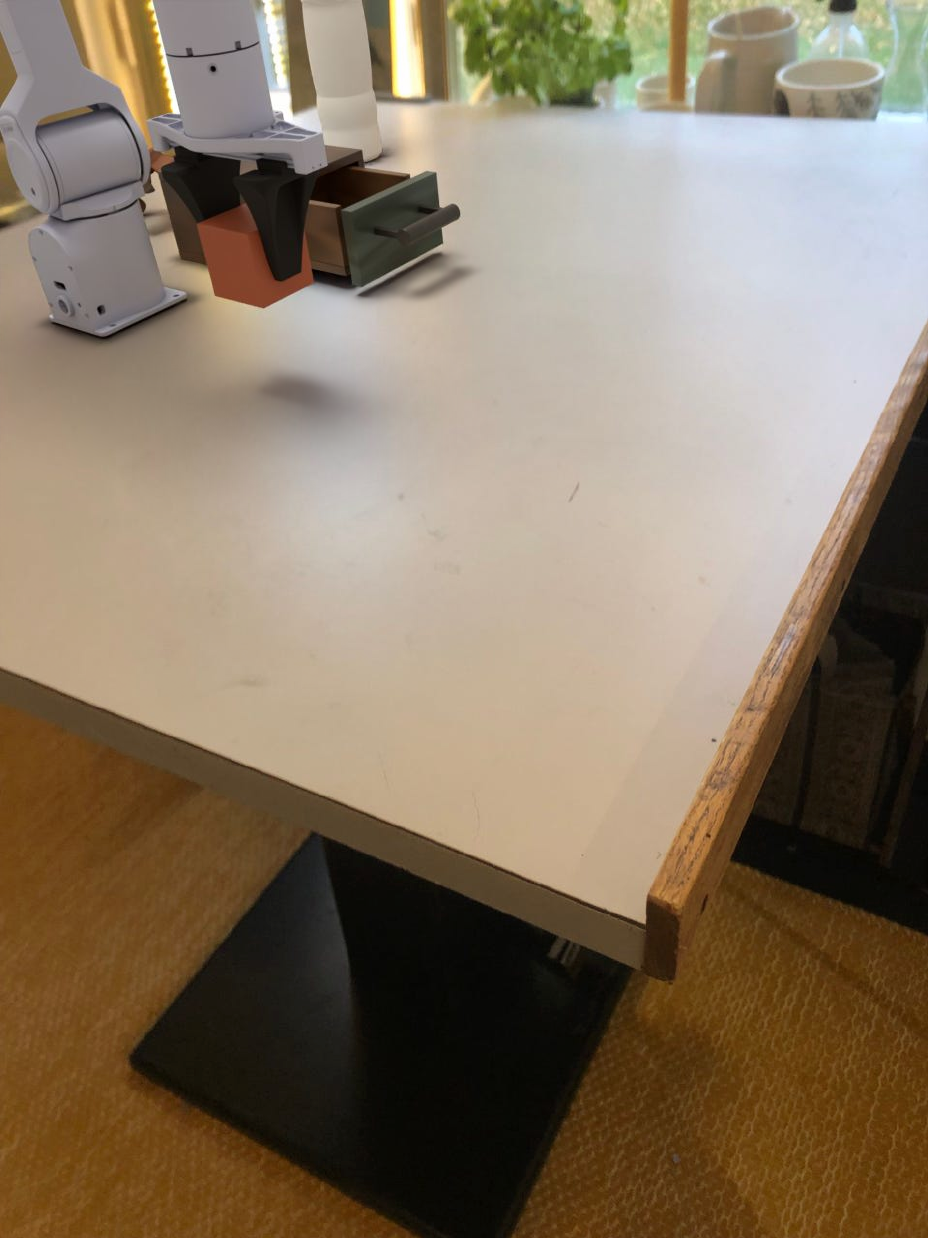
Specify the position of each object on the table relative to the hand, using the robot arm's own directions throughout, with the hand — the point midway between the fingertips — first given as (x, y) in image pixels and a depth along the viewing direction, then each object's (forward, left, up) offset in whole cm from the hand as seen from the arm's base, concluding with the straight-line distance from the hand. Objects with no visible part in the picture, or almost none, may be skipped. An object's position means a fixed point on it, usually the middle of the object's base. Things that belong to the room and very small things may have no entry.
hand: (260, 269), depth 68 cm
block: (0, 0, -1) cm, 1 cm away
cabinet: (+21, +22, -9) cm, 31 cm away
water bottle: (+48, +36, -9) cm, 60 cm away
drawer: (+21, +10, -8) cm, 24 cm away
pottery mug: (+23, +40, -9) cm, 47 cm away
